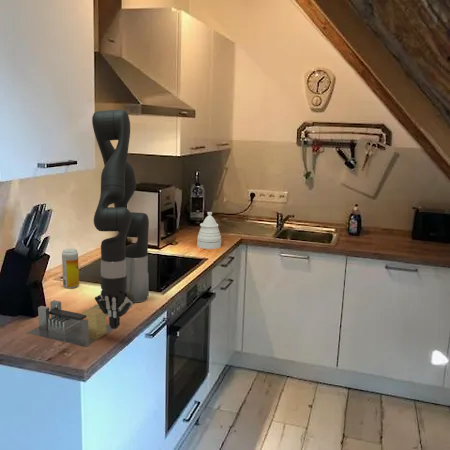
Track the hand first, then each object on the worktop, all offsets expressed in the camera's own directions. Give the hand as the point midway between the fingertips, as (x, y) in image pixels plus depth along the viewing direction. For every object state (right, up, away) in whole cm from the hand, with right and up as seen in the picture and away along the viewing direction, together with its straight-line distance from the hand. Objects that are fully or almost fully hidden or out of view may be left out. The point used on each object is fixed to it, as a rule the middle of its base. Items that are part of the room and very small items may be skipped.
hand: (114, 327), depth 153 cm
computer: (-8, 0, +25) cm, 26 cm away
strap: (-17, +2, +6) cm, 18 cm away
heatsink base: (-15, -3, +7) cm, 17 cm away
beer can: (-28, +6, +49) cm, 57 cm away
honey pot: (+25, +20, +118) cm, 122 cm away
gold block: (-7, -3, +4) cm, 8 cm away
